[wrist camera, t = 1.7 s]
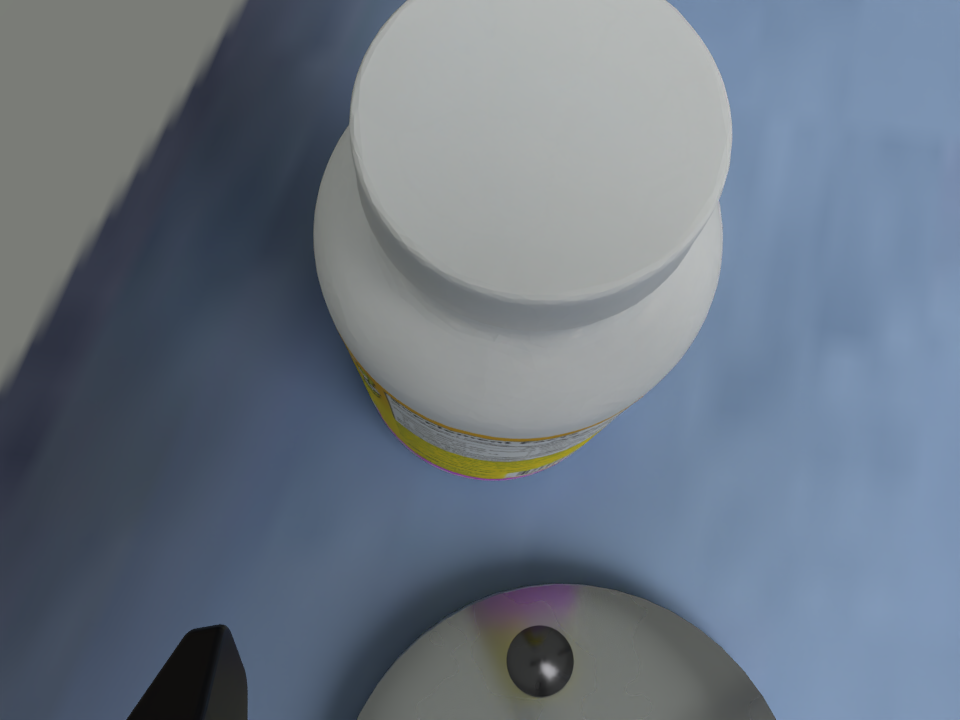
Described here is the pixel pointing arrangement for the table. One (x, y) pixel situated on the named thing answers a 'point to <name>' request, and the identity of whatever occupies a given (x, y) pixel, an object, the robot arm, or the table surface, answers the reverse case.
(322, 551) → the table surface
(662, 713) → the rosette plate
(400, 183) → the supplement bottle
